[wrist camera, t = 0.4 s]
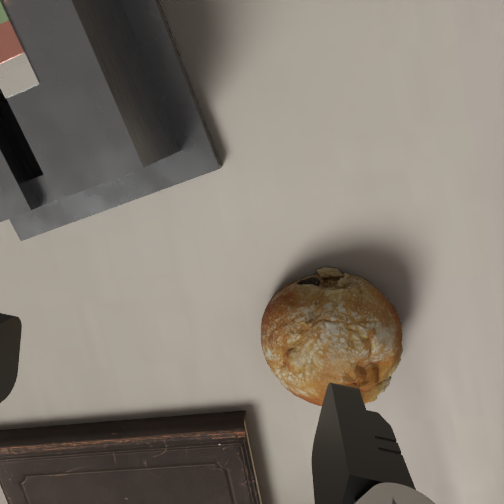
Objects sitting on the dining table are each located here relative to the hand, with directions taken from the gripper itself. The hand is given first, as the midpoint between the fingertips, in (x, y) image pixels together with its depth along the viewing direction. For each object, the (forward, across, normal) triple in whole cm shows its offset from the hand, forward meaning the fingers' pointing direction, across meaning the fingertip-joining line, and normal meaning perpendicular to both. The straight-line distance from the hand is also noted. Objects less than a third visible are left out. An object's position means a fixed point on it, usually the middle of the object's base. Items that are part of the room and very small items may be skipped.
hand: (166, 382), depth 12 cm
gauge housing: (+21, +14, -9) cm, 27 cm away
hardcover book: (+27, +6, +26) cm, 37 cm away
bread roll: (+24, -8, +6) cm, 26 cm away
